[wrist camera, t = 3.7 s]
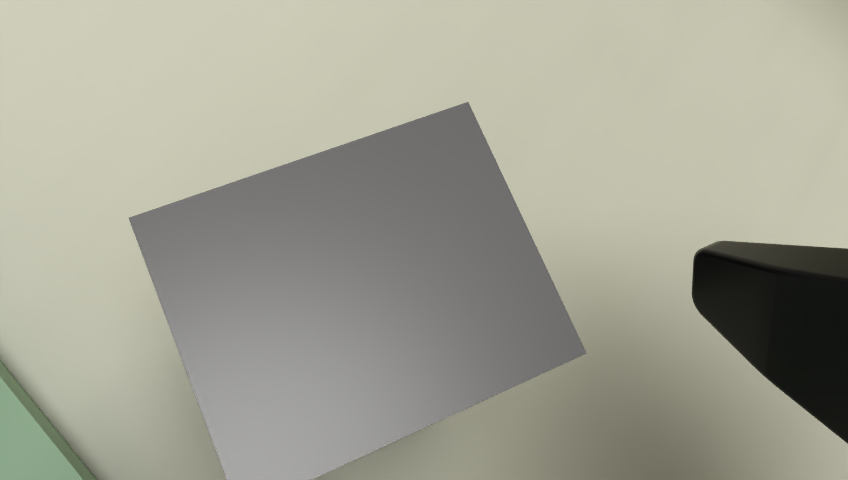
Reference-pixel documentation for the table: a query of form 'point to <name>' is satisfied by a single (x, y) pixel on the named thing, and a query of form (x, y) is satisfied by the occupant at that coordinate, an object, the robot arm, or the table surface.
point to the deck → (32, 440)
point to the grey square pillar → (353, 297)
